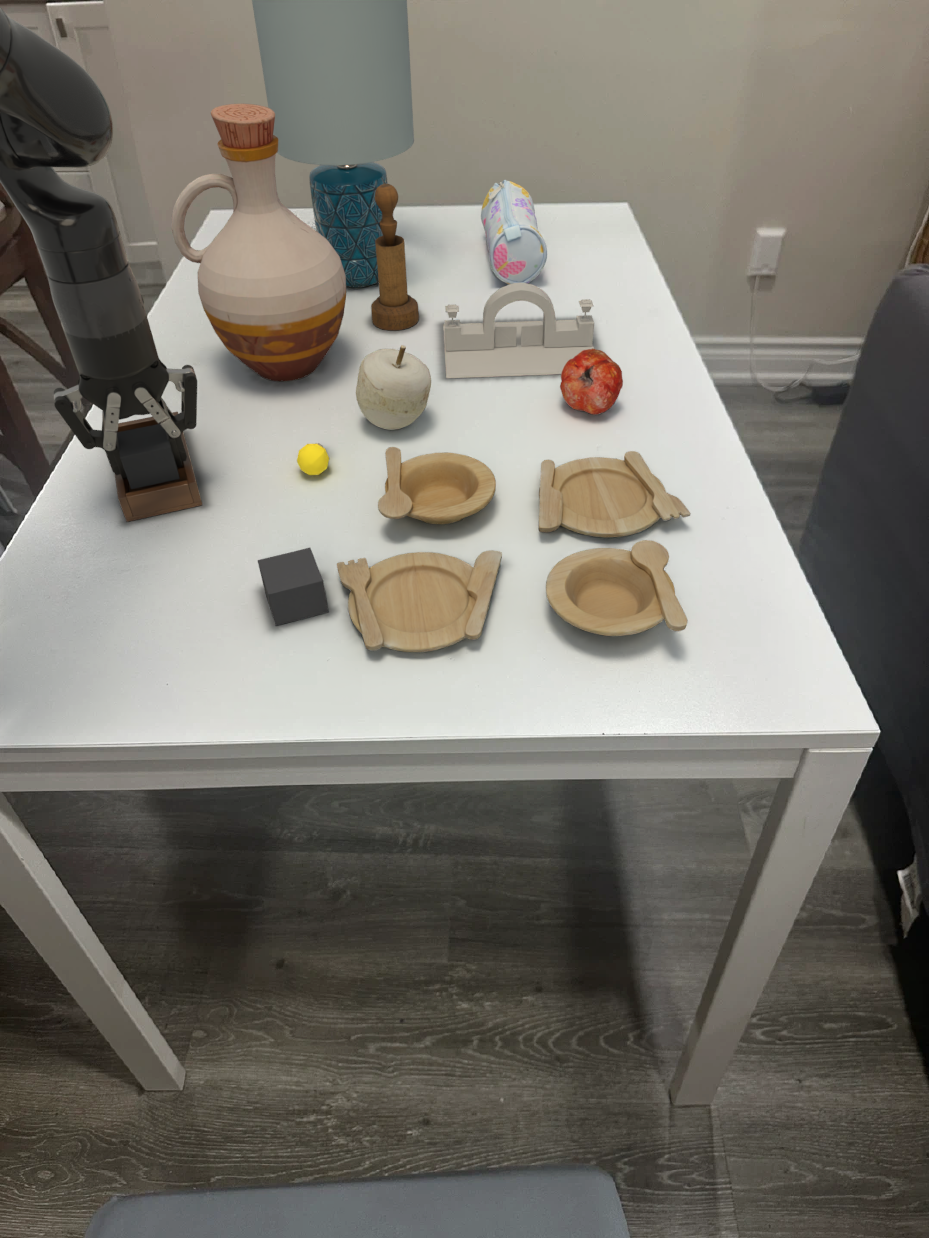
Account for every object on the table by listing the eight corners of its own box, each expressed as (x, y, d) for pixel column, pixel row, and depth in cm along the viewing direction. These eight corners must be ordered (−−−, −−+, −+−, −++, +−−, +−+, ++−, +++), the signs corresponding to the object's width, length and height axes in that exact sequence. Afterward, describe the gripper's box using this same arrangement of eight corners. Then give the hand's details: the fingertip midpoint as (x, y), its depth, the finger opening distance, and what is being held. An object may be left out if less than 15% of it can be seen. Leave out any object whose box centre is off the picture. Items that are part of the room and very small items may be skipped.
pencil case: (480, 237, 144) (480, 176, 137) (532, 235, 144) (535, 174, 137) (489, 292, 129) (489, 226, 122) (547, 290, 129) (550, 224, 122)
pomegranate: (564, 405, 110) (537, 390, 101) (591, 351, 108) (565, 330, 99) (615, 429, 108) (591, 416, 98) (642, 374, 106) (621, 355, 97)
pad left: (131, 489, 90) (119, 457, 87) (126, 464, 94) (115, 432, 91) (180, 479, 91) (170, 447, 89) (174, 454, 95) (164, 422, 92)
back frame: (126, 522, 91) (118, 499, 89) (115, 447, 101) (107, 425, 99) (202, 505, 93) (196, 482, 91) (183, 433, 103) (177, 411, 101)
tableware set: (668, 465, 97) (674, 434, 94) (725, 658, 76) (734, 625, 73) (354, 470, 97) (350, 438, 94) (325, 663, 76) (319, 631, 73)
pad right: (275, 626, 80) (268, 594, 77) (265, 591, 83) (257, 560, 80) (328, 612, 81) (323, 580, 78) (316, 578, 84) (310, 547, 81)
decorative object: (346, 418, 105) (336, 341, 98) (409, 397, 108) (404, 321, 101) (381, 453, 99) (374, 374, 92) (447, 429, 102) (444, 351, 95)
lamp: (306, 252, 141) (265, -38, 114) (425, 252, 140) (411, -39, 113) (284, 304, 127) (232, -10, 100) (415, 305, 126) (397, -12, 100)
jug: (191, 404, 108) (120, 137, 86) (218, 336, 120) (162, 89, 99) (349, 400, 107) (316, 133, 86) (359, 333, 120) (333, 86, 99)
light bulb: (303, 484, 95) (289, 454, 93) (311, 466, 100) (298, 438, 99) (331, 474, 95) (318, 444, 93) (338, 457, 100) (325, 428, 98)
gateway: (445, 351, 116) (443, 293, 110) (445, 343, 118) (443, 285, 112) (592, 346, 116) (597, 287, 111) (589, 338, 118) (594, 280, 112)
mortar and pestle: (390, 335, 120) (378, 198, 107) (363, 319, 123) (349, 185, 110) (428, 321, 123) (421, 185, 110) (400, 305, 126) (391, 173, 113)
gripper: (21, 348, 76) (84, 504, 88) (187, 319, 79) (225, 473, 91) (21, 312, 81) (80, 464, 93) (176, 287, 85) (214, 437, 96)
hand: (152, 468), depth 92 cm, fingers closed on pad left, 5 cm apart
